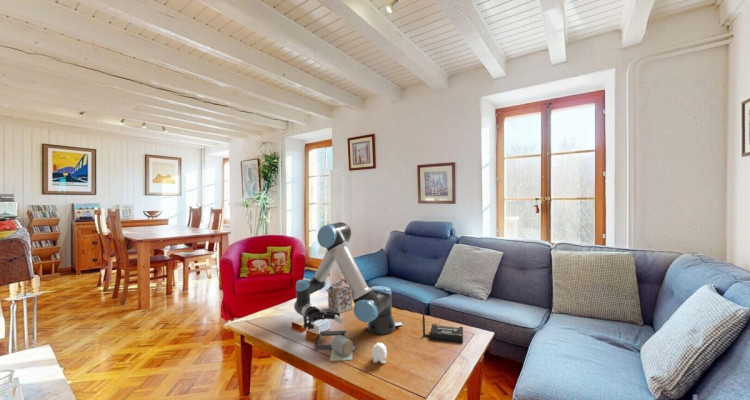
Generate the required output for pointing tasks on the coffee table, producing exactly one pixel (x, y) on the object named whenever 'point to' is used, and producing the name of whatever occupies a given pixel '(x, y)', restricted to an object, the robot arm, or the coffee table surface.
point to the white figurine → (379, 353)
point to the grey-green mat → (340, 356)
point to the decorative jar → (339, 297)
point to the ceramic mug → (342, 345)
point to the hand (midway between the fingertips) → (330, 325)
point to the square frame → (328, 334)
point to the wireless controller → (444, 332)
